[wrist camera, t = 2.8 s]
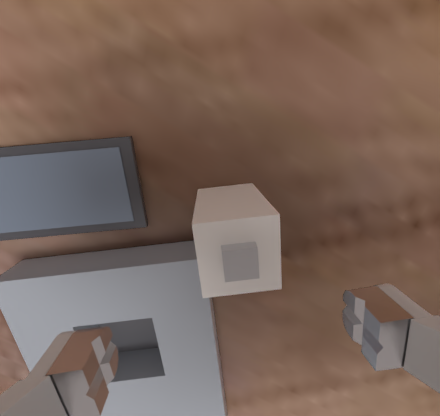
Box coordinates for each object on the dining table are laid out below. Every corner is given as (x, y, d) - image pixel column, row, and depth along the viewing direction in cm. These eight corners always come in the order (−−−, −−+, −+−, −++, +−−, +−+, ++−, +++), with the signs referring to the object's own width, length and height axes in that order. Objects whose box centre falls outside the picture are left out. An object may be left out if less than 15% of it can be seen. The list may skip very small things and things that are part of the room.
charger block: (252, 183, 17) (284, 219, 10) (255, 233, 19) (285, 297, 11) (197, 189, 17) (190, 229, 10) (204, 238, 19) (202, 306, 11)
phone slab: (134, 136, 17) (129, 136, 16) (149, 222, 18) (146, 227, 17) (-42, 151, 16) (-59, 152, 15) (-7, 236, 18) (-20, 242, 17)
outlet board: (204, 239, 19) (203, 258, 16) (227, 414, 25) (230, 451, 22) (22, 259, 18) (-12, 283, 15) (91, 431, 24) (76, 471, 22)
